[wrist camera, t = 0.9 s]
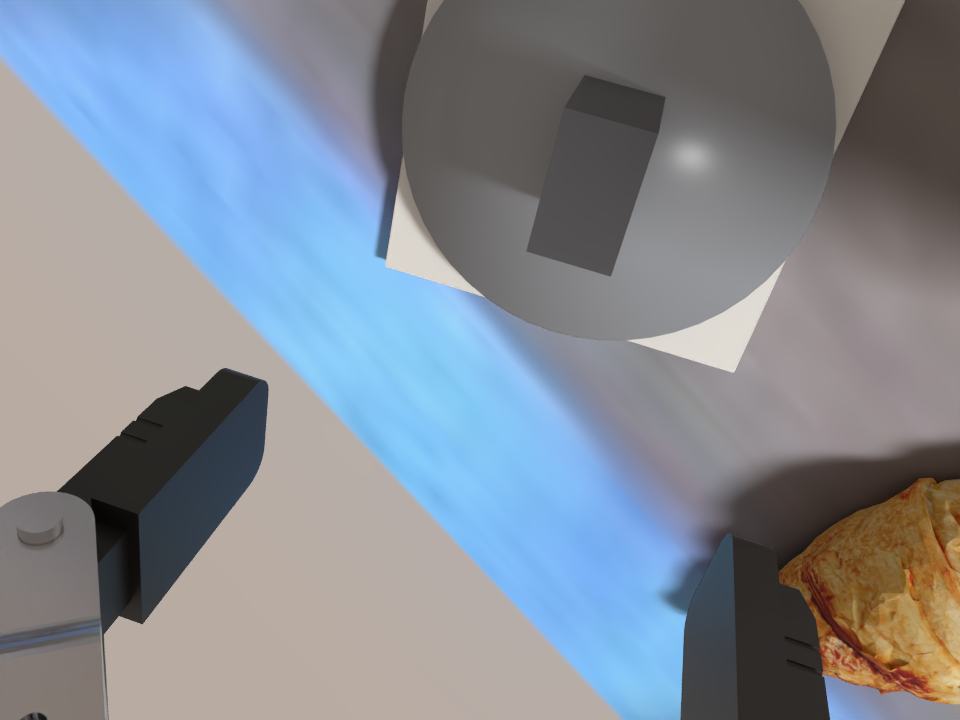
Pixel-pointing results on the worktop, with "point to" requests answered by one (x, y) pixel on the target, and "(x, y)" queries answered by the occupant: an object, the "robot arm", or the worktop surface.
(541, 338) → the worktop surface
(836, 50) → the mat
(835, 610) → the croissant
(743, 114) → the lid
